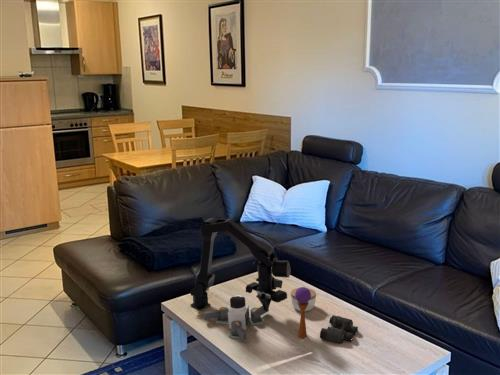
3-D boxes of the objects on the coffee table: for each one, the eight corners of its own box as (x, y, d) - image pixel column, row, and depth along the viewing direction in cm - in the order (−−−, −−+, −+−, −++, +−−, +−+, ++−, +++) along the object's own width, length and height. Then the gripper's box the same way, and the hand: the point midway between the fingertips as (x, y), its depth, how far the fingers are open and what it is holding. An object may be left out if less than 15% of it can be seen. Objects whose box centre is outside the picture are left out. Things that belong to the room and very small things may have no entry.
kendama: (313, 335, 189) (314, 287, 185) (305, 341, 185) (305, 292, 180) (299, 330, 193) (300, 283, 188) (291, 337, 188) (292, 288, 184)
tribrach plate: (204, 324, 198) (204, 323, 198) (238, 308, 212) (238, 307, 212) (236, 341, 185) (236, 339, 185) (271, 323, 199) (271, 321, 199)
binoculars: (360, 328, 194) (360, 314, 193) (347, 347, 181) (348, 332, 179) (333, 322, 200) (334, 308, 198) (319, 340, 186) (319, 325, 185)
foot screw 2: (256, 322, 198) (256, 312, 197) (248, 319, 200) (248, 309, 199) (271, 313, 205) (271, 304, 204) (263, 310, 208) (263, 301, 207)
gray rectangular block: (229, 331, 191) (229, 321, 190) (239, 329, 193) (239, 319, 192) (240, 343, 182) (240, 332, 181) (250, 340, 184) (249, 330, 183)
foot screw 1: (227, 315, 204) (227, 305, 203) (229, 319, 200) (229, 310, 199) (203, 318, 201) (203, 309, 200) (205, 323, 198) (205, 313, 197)
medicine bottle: (246, 329, 193) (244, 301, 190) (229, 329, 195) (226, 301, 192) (250, 320, 200) (247, 293, 197) (233, 320, 201) (230, 293, 198)
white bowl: (287, 312, 208) (287, 292, 206) (294, 302, 218) (295, 282, 216) (312, 317, 204) (312, 296, 202) (318, 306, 214) (318, 286, 212)
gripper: (295, 274, 199) (296, 310, 202) (262, 265, 212) (264, 299, 215) (276, 282, 192) (278, 320, 194) (243, 272, 205) (245, 307, 208)
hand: (266, 311), depth 203 cm, fingers closed
